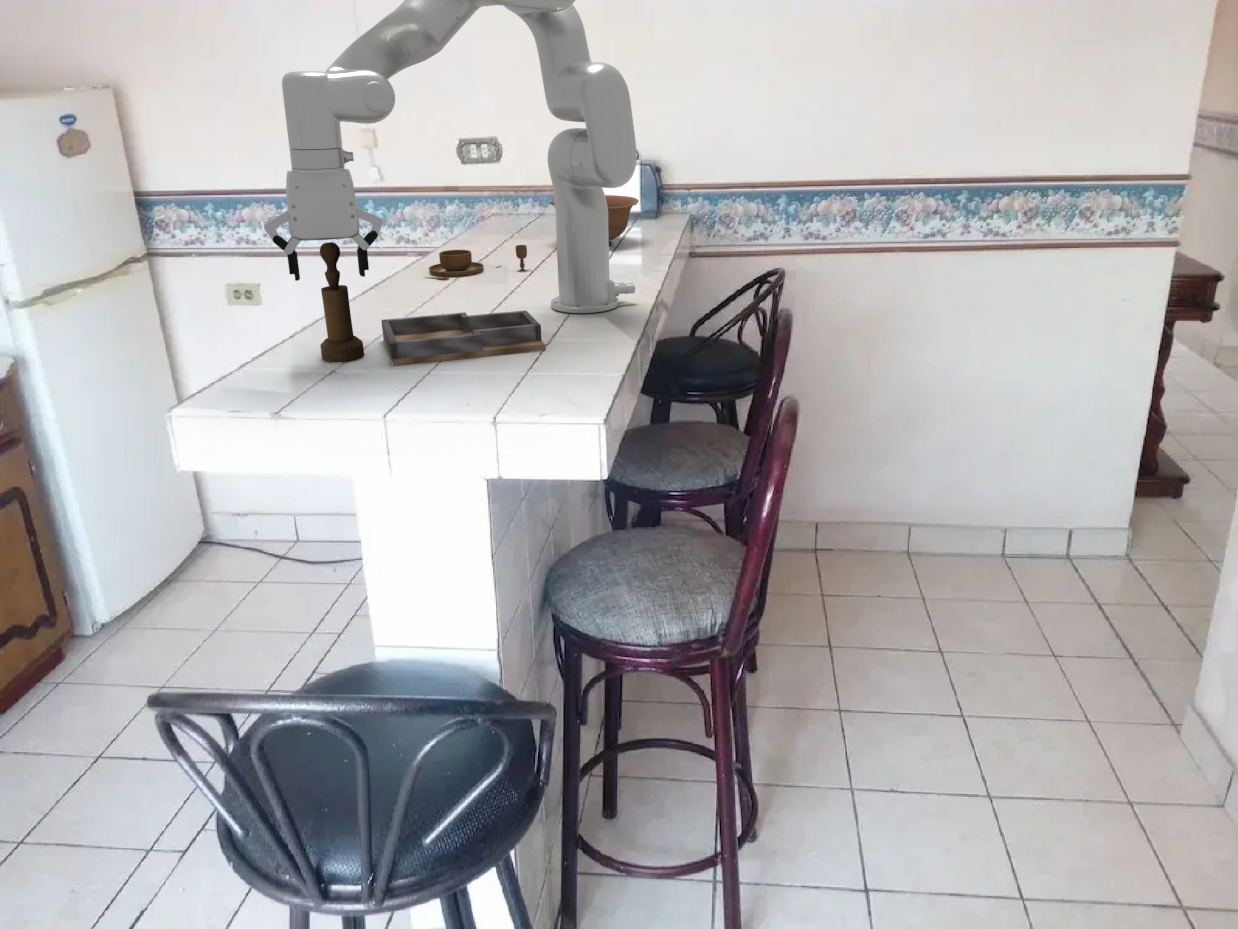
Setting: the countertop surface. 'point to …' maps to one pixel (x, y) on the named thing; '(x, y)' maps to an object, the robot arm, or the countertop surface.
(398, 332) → the keyhole board
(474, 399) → the countertop surface
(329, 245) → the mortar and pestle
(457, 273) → the place setting
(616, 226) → the bowl
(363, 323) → the countertop surface
